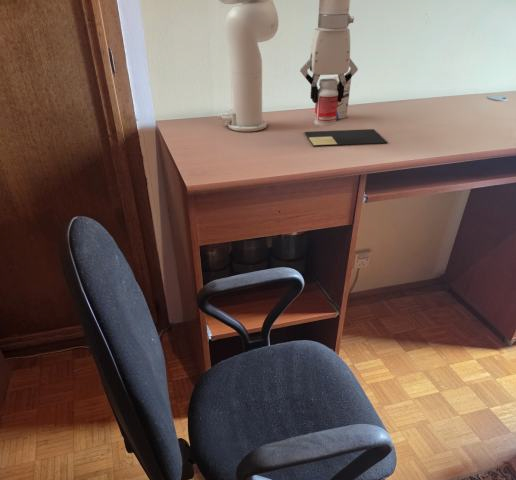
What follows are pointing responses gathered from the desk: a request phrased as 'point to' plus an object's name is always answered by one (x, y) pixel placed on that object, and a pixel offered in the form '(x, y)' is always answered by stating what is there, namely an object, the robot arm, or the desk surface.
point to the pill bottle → (326, 103)
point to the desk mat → (345, 137)
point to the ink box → (342, 100)
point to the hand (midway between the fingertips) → (326, 100)
